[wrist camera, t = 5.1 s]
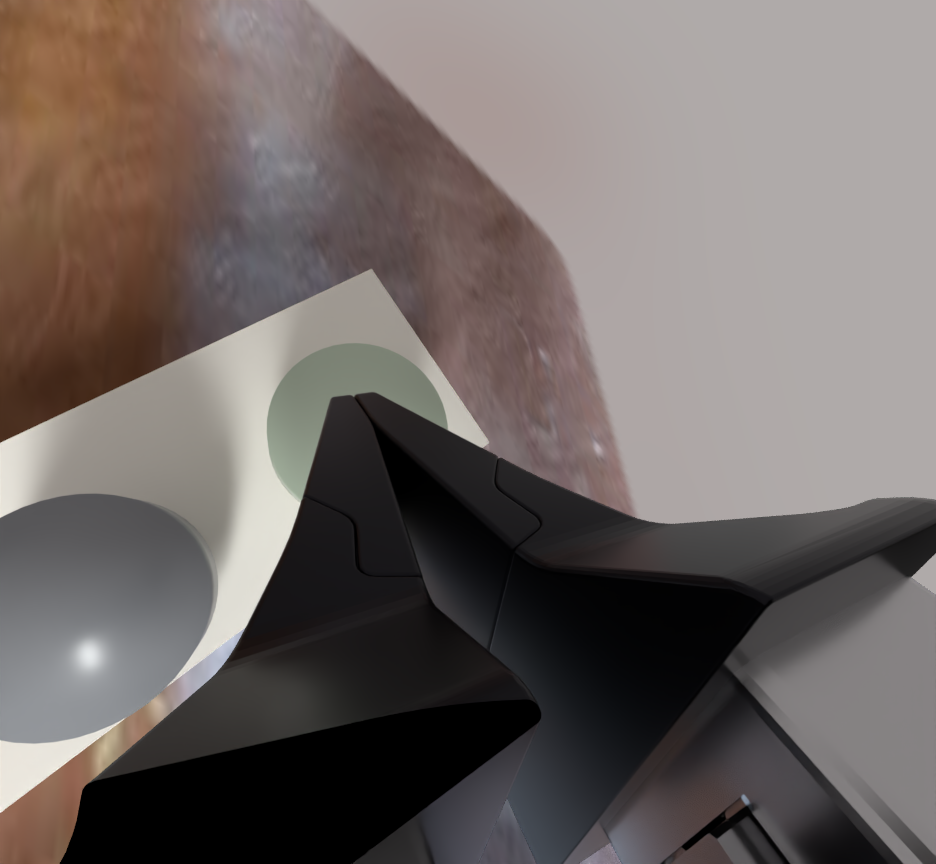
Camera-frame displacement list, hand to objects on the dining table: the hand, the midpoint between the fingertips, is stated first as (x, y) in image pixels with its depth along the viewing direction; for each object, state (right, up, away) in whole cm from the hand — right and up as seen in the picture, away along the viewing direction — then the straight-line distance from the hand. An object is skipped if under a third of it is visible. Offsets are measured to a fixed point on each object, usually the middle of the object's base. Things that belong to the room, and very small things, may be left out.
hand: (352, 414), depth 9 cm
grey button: (-6, -4, +1) cm, 7 cm away
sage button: (-1, -1, +4) cm, 4 cm away
